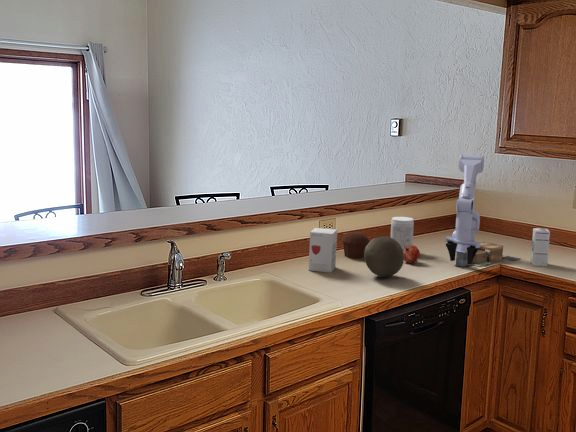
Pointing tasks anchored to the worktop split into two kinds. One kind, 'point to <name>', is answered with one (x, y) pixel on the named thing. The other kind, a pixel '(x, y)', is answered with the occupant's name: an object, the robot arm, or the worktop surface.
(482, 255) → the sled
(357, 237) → the muffin
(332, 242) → the supplement box
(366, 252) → the cantaloupe
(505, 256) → the pit right
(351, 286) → the worktop surface
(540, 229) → the syrup box
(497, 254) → the tunnel
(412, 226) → the supplement tub
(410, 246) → the pomegranate
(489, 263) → the pad
